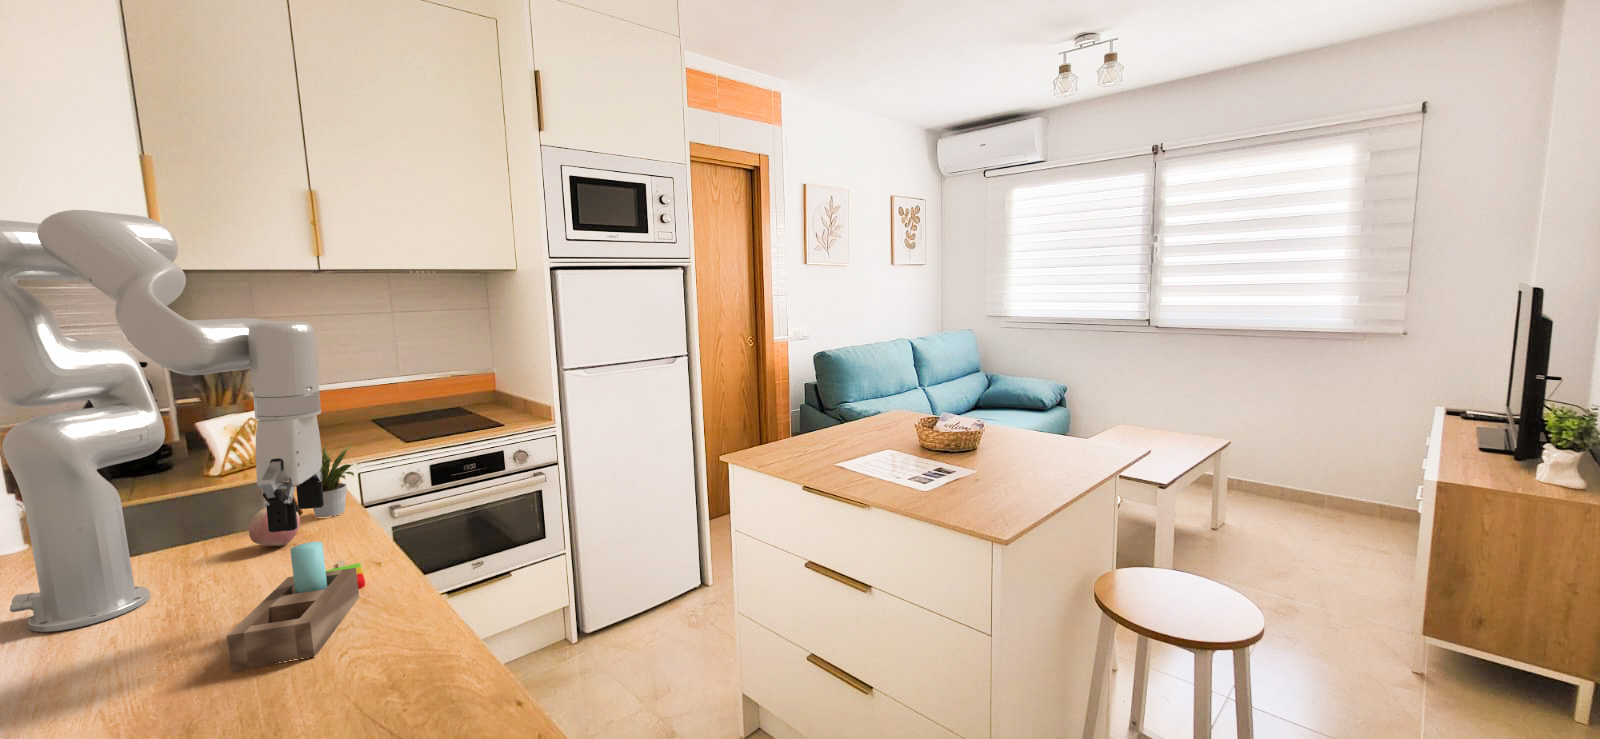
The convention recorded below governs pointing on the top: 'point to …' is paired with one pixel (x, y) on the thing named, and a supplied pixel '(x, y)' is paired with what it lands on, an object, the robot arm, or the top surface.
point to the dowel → (308, 567)
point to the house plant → (333, 485)
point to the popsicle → (358, 570)
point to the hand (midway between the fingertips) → (298, 518)
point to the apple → (264, 536)
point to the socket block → (292, 622)
